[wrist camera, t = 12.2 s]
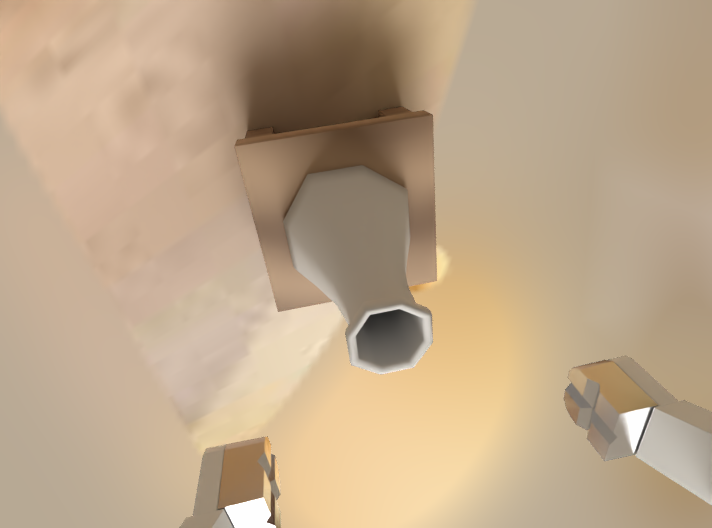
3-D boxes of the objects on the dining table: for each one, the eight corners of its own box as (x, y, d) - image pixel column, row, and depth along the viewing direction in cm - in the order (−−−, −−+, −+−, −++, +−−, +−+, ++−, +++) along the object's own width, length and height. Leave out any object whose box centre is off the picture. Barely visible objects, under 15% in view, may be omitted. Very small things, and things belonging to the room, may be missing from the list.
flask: (291, 152, 21) (302, 235, 12) (425, 173, 22) (520, 260, 14) (275, 276, 24) (274, 413, 15) (393, 287, 26) (453, 415, 17)
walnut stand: (242, 127, 24) (234, 146, 20) (406, 101, 25) (432, 114, 21) (277, 271, 29) (278, 311, 25) (414, 246, 30) (437, 280, 26)
